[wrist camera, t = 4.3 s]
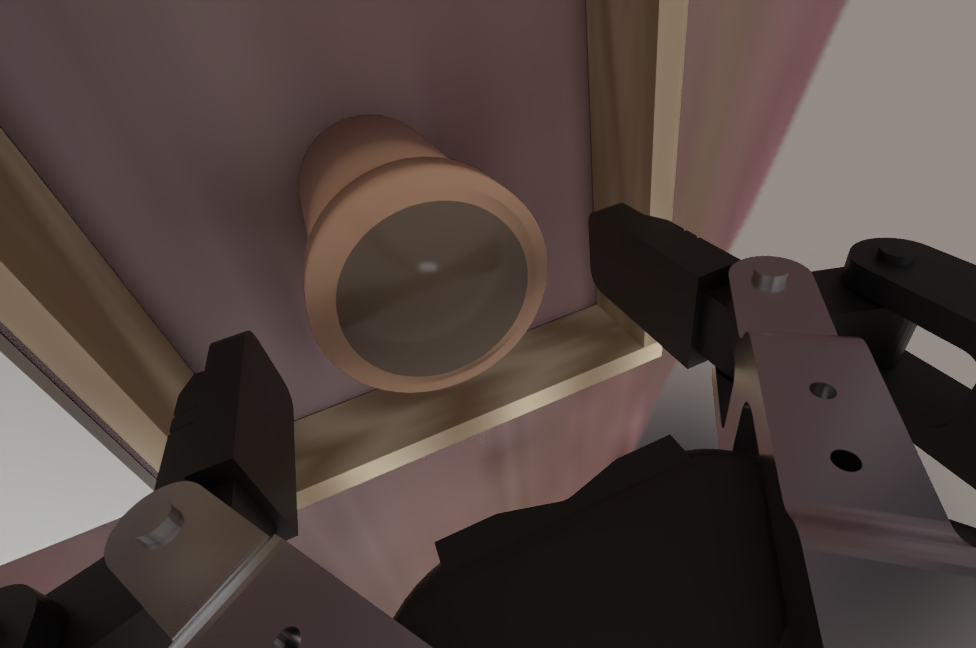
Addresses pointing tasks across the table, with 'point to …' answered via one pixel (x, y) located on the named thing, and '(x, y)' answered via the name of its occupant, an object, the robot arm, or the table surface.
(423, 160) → the terracotta pot
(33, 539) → the grey mat
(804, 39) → the table surface
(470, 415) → the frame
